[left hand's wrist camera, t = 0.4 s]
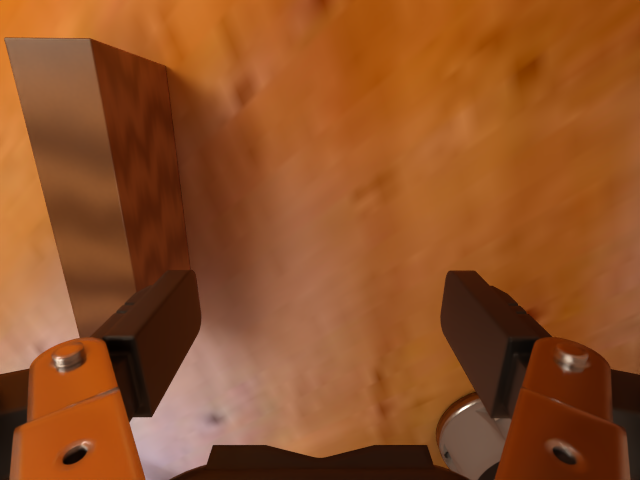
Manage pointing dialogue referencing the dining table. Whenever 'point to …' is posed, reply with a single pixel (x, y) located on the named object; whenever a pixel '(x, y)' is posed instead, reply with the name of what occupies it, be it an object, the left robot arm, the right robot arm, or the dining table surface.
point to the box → (103, 167)
